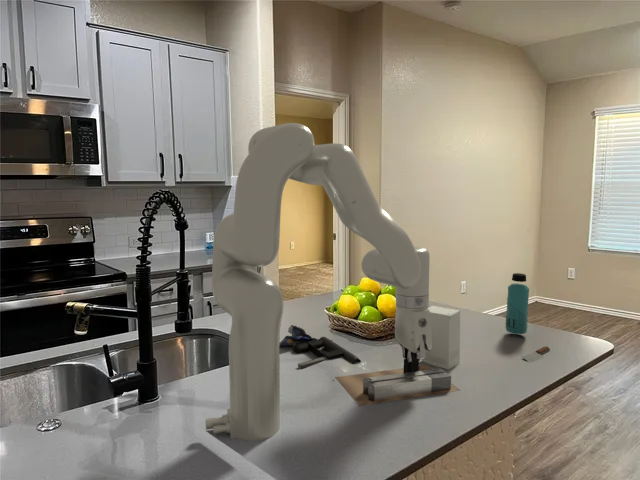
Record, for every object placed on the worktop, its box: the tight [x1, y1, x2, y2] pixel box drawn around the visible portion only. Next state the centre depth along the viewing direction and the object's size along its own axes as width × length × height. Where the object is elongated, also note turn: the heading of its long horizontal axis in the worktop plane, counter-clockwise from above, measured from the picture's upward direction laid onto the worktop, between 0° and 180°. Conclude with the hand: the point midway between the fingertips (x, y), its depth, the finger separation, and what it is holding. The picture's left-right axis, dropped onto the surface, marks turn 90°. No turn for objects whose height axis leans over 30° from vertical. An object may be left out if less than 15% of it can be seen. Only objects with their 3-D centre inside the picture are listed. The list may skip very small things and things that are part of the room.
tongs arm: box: [363, 367, 446, 394], centre depth 108 cm, size 20×2×3 cm, turn 107°
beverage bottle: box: [504, 272, 530, 335], centre depth 148 cm, size 6×7×20 cm
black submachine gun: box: [292, 336, 362, 370], centre depth 129 cm, size 3×20×16 cm
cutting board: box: [335, 364, 461, 407], centre depth 111 cm, size 25×15×2 cm, turn 108°
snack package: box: [279, 324, 318, 347], centre depth 141 cm, size 12×6×12 cm
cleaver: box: [521, 345, 551, 363], centre depth 132 cm, size 13×2×5 cm
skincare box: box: [420, 305, 461, 370], centre depth 123 cm, size 8×7×16 cm
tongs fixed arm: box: [368, 371, 452, 401], centre depth 105 cm, size 20×2×3 cm, turn 108°
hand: (411, 375), depth 111 cm, fingers closed
